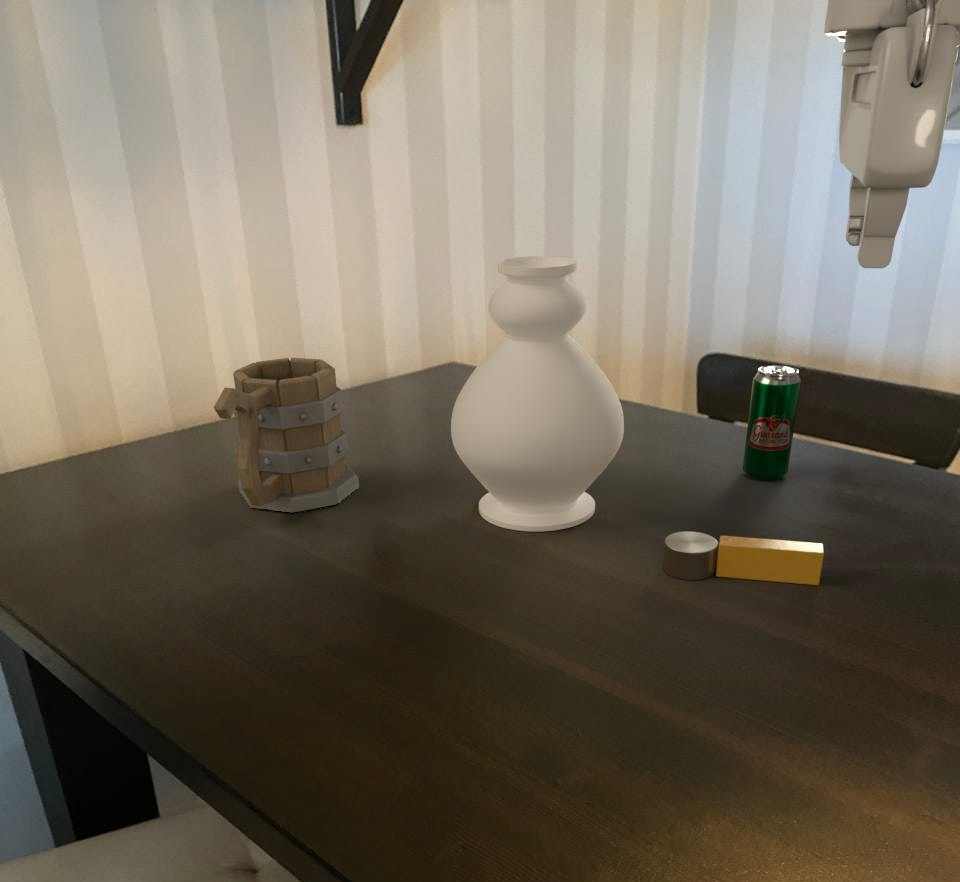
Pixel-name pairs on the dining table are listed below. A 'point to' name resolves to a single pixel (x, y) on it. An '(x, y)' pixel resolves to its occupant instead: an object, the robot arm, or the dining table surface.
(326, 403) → the tankard
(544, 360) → the decorative vase
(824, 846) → the dining table surface
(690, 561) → the silver puck with tab
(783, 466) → the soda can
